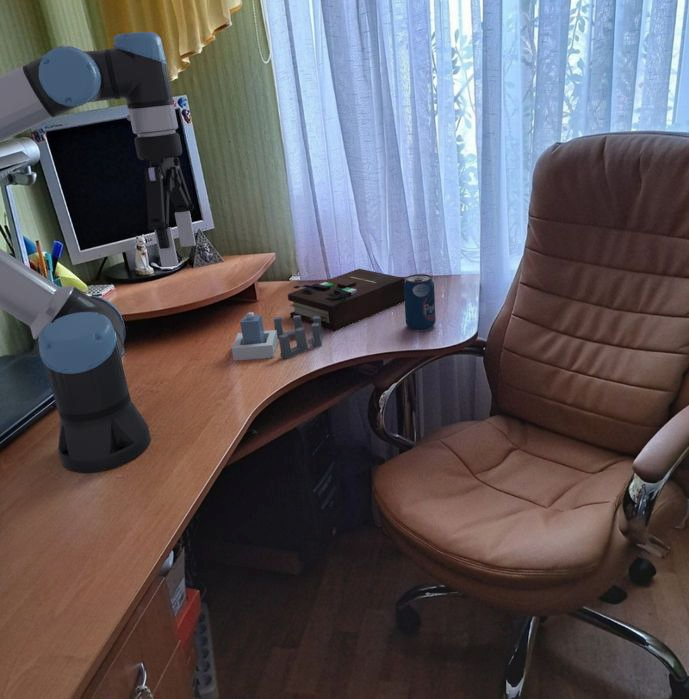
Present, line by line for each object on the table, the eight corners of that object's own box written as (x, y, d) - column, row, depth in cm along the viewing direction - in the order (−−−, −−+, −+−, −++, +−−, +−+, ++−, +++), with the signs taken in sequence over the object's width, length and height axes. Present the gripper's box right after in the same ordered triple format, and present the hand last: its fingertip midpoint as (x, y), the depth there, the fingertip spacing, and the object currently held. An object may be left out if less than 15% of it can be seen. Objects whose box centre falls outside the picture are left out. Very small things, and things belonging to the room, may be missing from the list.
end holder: (233, 360, 147) (231, 348, 145) (240, 345, 155) (238, 333, 154) (273, 357, 146) (271, 345, 145) (278, 342, 154) (276, 330, 153)
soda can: (432, 332, 151) (430, 282, 146) (402, 331, 153) (399, 282, 149) (438, 321, 157) (436, 273, 152) (410, 320, 159) (407, 273, 155)
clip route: (269, 360, 145) (266, 339, 143) (276, 336, 158) (274, 317, 156) (320, 356, 144) (317, 335, 142) (323, 333, 157) (320, 313, 155)
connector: (263, 354, 149) (257, 316, 145) (245, 355, 149) (239, 317, 145) (266, 347, 152) (260, 309, 149) (249, 348, 153) (243, 310, 149)
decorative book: (414, 273, 170) (327, 306, 152) (415, 300, 173) (330, 337, 155) (361, 262, 184) (276, 292, 166) (364, 288, 187) (280, 320, 169)
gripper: (154, 129, 124) (176, 240, 132) (109, 143, 101) (138, 277, 109) (194, 125, 123) (213, 237, 132) (157, 138, 100) (183, 273, 109)
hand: (179, 255), depth 120 cm, fingers open, 13 cm apart
